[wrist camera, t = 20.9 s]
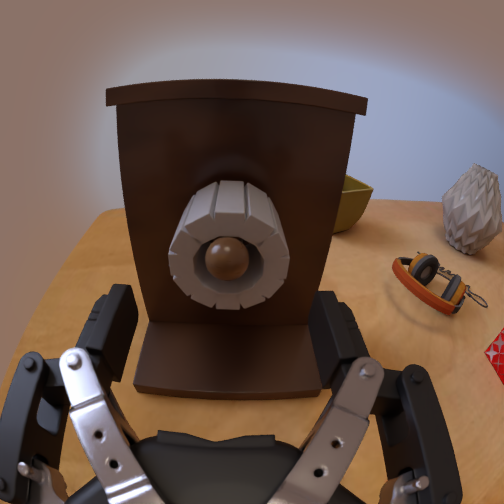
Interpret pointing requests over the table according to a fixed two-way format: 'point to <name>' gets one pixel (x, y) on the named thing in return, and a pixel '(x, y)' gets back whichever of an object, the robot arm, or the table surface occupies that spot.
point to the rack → (231, 248)
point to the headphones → (423, 274)
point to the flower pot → (352, 203)
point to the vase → (472, 210)
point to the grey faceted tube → (229, 225)
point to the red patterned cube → (497, 354)
